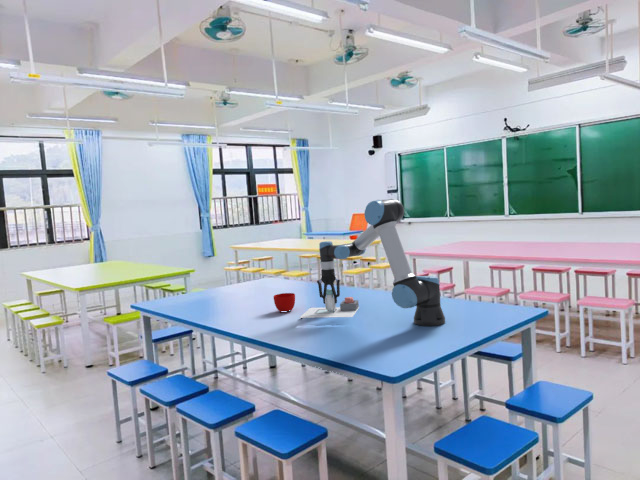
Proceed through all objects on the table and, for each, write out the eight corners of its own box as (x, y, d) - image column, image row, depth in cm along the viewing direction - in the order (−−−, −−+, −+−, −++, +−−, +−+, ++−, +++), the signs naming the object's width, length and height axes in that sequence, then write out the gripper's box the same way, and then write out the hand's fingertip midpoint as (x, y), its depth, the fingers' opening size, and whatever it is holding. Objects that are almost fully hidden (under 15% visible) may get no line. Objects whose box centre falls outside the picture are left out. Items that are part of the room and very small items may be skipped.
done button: (353, 306, 263) (352, 298, 263) (344, 306, 264) (343, 298, 264) (354, 304, 268) (353, 296, 267) (346, 304, 269) (345, 297, 269)
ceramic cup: (298, 307, 288) (297, 291, 287) (294, 313, 271) (293, 296, 270) (278, 308, 289) (276, 292, 288) (272, 314, 272) (271, 297, 271)
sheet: (352, 319, 247) (352, 316, 246) (299, 319, 254) (298, 317, 254) (359, 308, 270) (359, 306, 270) (310, 309, 277) (310, 307, 277)
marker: (333, 311, 261) (332, 290, 260) (326, 311, 262) (324, 290, 261) (335, 309, 265) (333, 289, 264) (328, 309, 266) (326, 289, 265)
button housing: (356, 310, 261) (355, 303, 260) (340, 310, 263) (340, 303, 263) (358, 306, 269) (358, 300, 269) (343, 307, 272) (343, 300, 271)
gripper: (343, 267, 264) (346, 307, 265) (314, 268, 268) (318, 307, 269) (341, 268, 256) (344, 310, 258) (311, 270, 260) (314, 311, 262)
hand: (330, 309), depth 264 cm, fingers closed on marker, 4 cm apart
